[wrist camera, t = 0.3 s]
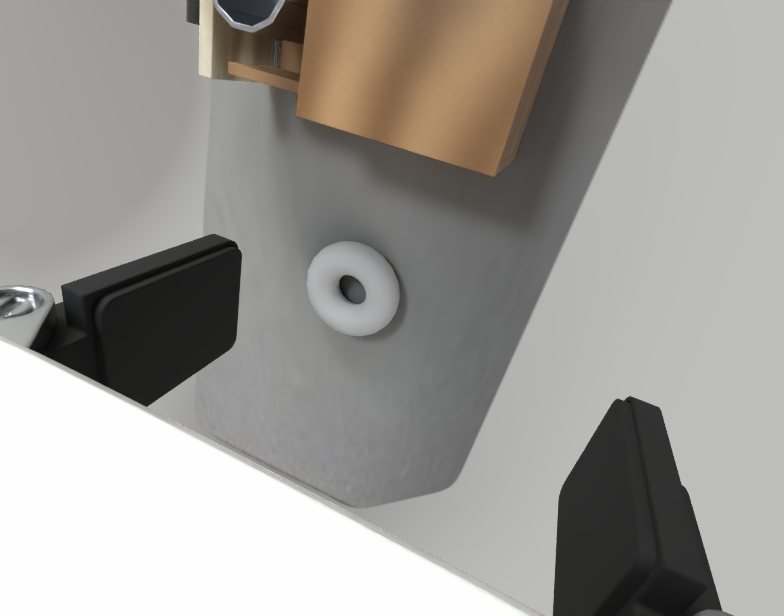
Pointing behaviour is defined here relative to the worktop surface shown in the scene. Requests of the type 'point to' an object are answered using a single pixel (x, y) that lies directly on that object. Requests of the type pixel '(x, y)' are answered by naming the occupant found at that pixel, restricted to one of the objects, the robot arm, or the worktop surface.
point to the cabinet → (429, 73)
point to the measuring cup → (267, 17)
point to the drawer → (241, 51)
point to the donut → (371, 275)
